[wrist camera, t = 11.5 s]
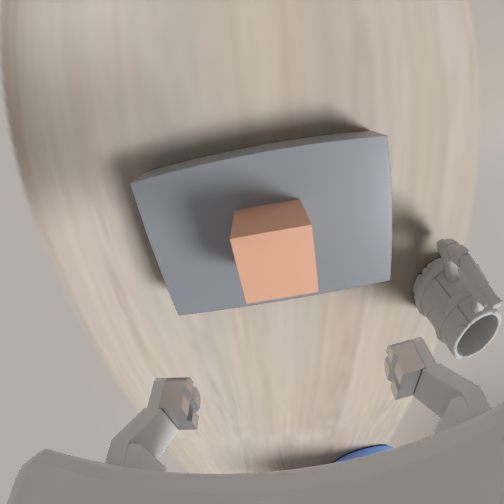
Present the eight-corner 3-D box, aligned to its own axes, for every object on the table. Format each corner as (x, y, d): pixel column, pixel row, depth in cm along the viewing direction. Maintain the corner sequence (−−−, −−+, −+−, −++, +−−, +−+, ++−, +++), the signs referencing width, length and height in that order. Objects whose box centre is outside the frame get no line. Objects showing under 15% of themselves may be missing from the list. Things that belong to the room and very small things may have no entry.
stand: (146, 171, 25) (130, 183, 22) (369, 130, 23) (387, 135, 20) (186, 291, 31) (178, 315, 28) (376, 258, 29) (390, 280, 26)
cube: (234, 210, 23) (229, 239, 18) (299, 199, 22) (311, 224, 18) (247, 266, 25) (246, 303, 21) (307, 256, 25) (318, 291, 20)
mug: (412, 317, 33) (451, 389, 23) (403, 235, 28) (464, 306, 18) (460, 294, 32) (508, 357, 21) (460, 213, 27) (530, 269, 16)
